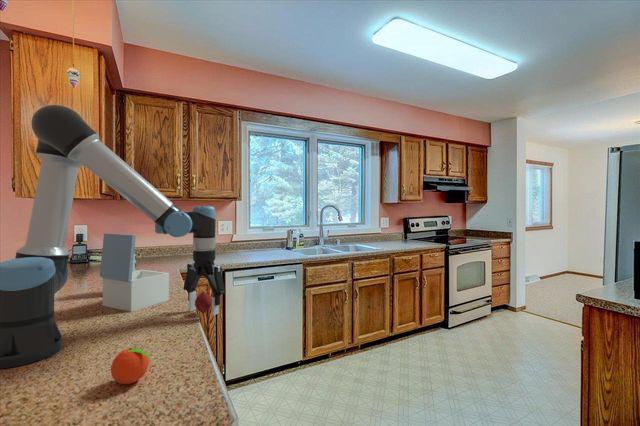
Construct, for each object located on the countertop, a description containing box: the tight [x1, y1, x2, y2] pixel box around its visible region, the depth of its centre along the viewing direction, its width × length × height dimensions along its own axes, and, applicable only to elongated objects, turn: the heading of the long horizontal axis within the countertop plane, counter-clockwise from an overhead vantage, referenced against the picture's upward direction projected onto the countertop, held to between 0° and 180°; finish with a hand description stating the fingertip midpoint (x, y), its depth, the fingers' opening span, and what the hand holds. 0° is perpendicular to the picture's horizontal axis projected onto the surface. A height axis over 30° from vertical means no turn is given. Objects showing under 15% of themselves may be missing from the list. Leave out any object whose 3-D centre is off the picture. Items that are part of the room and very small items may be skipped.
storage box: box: [102, 269, 170, 312], centre depth 124 cm, size 16×16×11 cm
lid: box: [99, 233, 137, 282], centre depth 117 cm, size 17×16×1 cm
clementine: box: [110, 347, 152, 385], centre depth 67 cm, size 8×7×7 cm
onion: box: [195, 290, 212, 314], centre depth 113 cm, size 6×6×8 cm
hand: (203, 312), depth 113 cm, fingers open, 10 cm apart
